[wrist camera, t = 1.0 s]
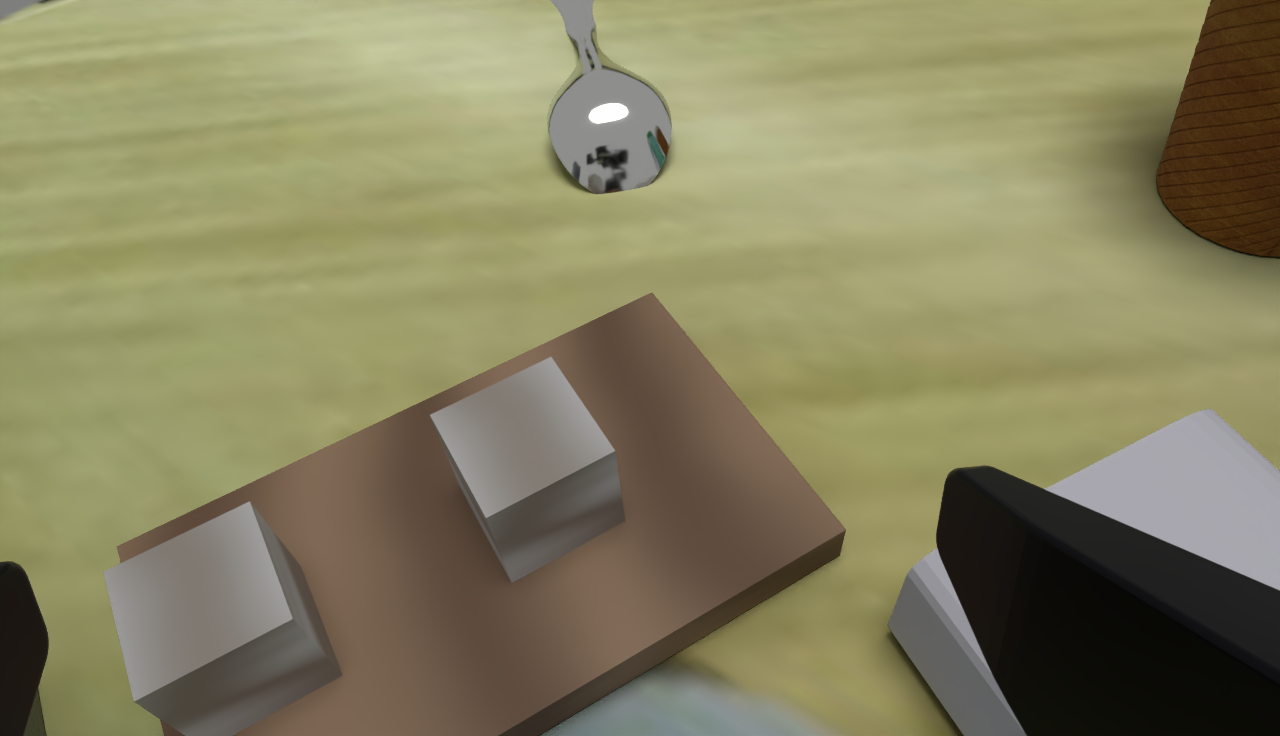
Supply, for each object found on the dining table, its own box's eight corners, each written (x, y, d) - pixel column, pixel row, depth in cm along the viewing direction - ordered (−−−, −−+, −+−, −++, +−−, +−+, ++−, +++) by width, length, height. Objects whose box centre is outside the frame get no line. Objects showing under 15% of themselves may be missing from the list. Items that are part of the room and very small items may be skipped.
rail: (654, 322, 31) (646, 211, 27) (839, 555, 26) (863, 459, 22) (142, 570, 27) (44, 481, 23) (235, 917, 21) (126, 879, 17)
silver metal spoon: (497, -133, 44) (595, -148, 45) (510, -62, 47) (601, -76, 47) (553, 156, 33) (683, 134, 33) (565, 225, 36) (684, 204, 36)
